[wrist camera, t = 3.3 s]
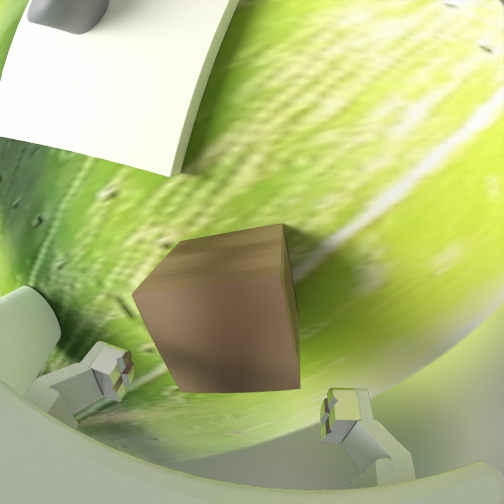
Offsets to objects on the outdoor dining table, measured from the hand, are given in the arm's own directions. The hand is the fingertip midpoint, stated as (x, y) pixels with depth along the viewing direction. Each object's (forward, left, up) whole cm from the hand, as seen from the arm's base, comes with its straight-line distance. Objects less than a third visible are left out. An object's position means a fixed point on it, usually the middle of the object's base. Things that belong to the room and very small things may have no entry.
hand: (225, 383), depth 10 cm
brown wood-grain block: (-1, +1, -7) cm, 7 cm away
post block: (-15, +15, -7) cm, 22 cm away
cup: (-19, -11, -8) cm, 23 cm away
